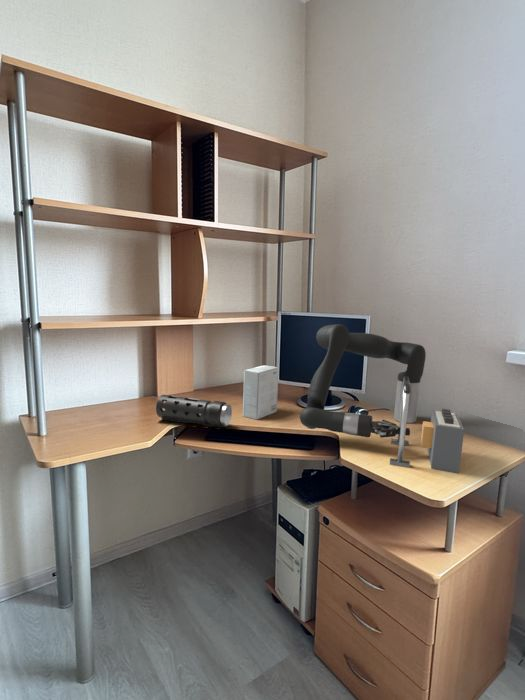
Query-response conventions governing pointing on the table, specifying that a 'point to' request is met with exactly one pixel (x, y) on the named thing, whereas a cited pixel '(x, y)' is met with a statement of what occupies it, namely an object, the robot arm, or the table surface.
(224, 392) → the table surface
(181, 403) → the muzzle brake
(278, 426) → the table surface
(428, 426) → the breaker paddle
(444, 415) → the box
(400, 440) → the cord gate
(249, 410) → the hard drive box
